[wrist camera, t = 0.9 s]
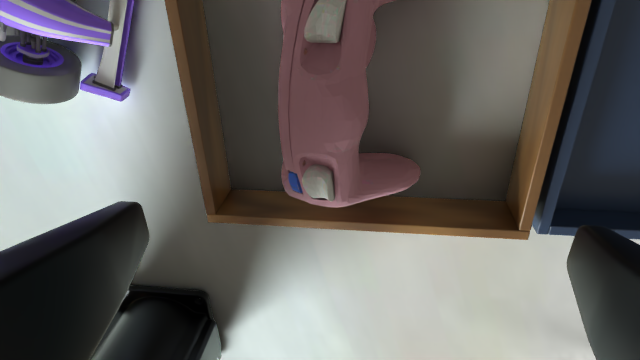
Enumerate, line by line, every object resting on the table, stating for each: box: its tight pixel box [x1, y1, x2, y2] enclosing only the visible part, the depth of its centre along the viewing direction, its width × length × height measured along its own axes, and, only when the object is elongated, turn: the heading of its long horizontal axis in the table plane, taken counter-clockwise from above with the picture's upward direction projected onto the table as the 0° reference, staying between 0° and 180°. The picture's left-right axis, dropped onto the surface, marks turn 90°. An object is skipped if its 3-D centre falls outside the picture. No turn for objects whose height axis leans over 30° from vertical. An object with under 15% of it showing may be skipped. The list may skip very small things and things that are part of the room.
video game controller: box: [278, 0, 421, 207], centre depth 16 cm, size 10×5×7 cm, turn 178°
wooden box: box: [165, 0, 592, 240], centre depth 18 cm, size 15×14×2 cm
